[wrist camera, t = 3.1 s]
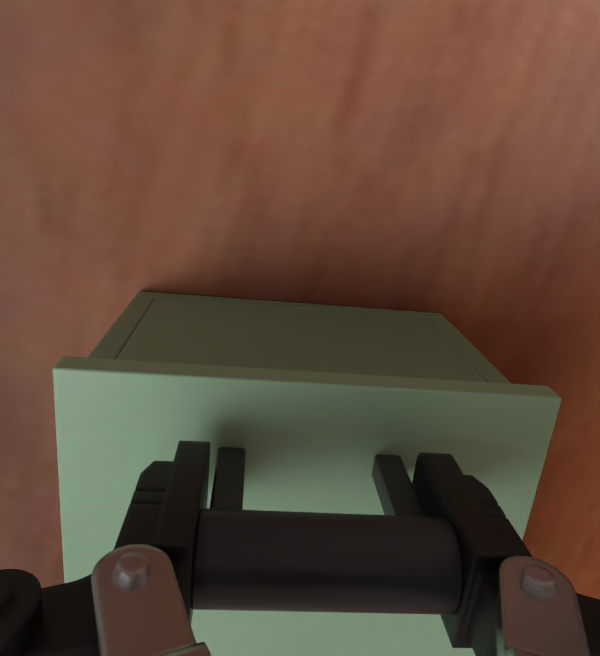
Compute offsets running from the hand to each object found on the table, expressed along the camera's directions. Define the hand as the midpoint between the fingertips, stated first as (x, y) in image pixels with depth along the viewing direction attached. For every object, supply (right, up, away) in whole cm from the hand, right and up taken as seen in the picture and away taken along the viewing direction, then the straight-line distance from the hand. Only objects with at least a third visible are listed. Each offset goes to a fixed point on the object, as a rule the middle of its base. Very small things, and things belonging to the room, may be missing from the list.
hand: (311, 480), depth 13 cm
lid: (-1, -5, +3) cm, 6 cm away
